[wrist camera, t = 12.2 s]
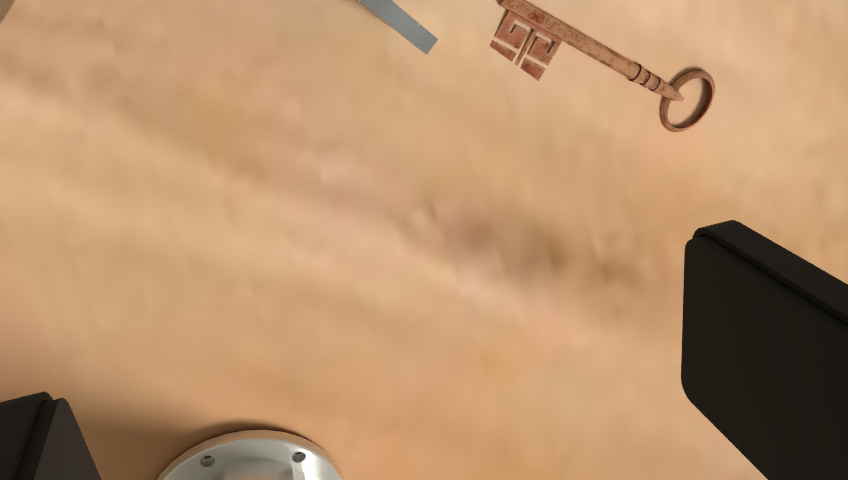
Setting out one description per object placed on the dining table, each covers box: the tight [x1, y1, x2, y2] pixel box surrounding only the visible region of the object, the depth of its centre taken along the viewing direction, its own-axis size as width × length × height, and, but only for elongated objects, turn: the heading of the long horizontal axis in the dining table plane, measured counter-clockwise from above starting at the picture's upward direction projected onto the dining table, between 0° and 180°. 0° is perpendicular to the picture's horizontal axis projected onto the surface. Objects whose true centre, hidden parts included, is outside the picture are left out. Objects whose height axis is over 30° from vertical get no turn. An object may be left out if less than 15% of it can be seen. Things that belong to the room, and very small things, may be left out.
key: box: [490, 0, 715, 132], centre depth 41 cm, size 6×1×15 cm
